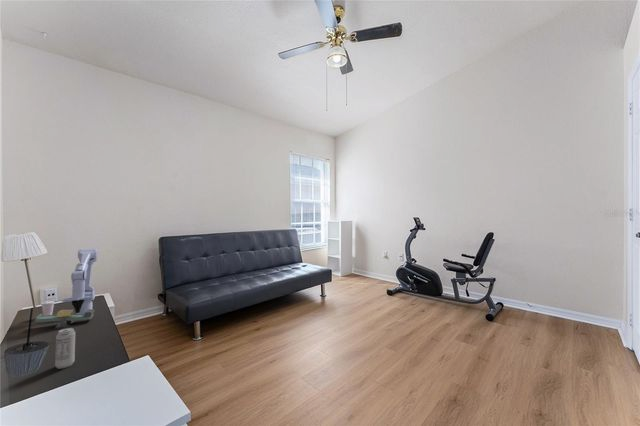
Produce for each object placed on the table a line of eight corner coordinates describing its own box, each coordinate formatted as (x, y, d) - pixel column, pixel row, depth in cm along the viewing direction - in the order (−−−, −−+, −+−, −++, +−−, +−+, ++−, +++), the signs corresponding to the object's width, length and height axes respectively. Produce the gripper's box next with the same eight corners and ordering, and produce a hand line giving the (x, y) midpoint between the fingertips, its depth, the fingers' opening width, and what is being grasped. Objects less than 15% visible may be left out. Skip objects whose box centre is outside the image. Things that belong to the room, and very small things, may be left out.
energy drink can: (78, 361, 118) (79, 327, 118) (65, 369, 112) (66, 332, 112) (64, 362, 117) (65, 327, 118) (50, 369, 111) (52, 333, 112)
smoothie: (38, 318, 174) (39, 296, 175) (52, 315, 180) (52, 294, 180) (42, 319, 171) (43, 297, 172) (56, 316, 177) (56, 295, 177)
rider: (59, 315, 163) (60, 310, 163) (72, 315, 166) (73, 309, 166) (56, 318, 159) (57, 312, 159) (69, 317, 162) (70, 311, 162)
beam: (40, 317, 161) (42, 310, 161) (93, 315, 172) (94, 308, 173) (33, 322, 153) (35, 315, 153) (89, 319, 165) (90, 312, 165)
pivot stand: (62, 322, 166) (62, 314, 167) (75, 320, 169) (75, 312, 169) (55, 328, 156) (55, 320, 156) (68, 326, 159) (68, 318, 159)
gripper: (60, 293, 159) (59, 316, 158) (91, 290, 166) (91, 312, 165) (64, 290, 165) (64, 313, 165) (94, 287, 172) (94, 309, 172)
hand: (77, 312), depth 165 cm, fingers closed
